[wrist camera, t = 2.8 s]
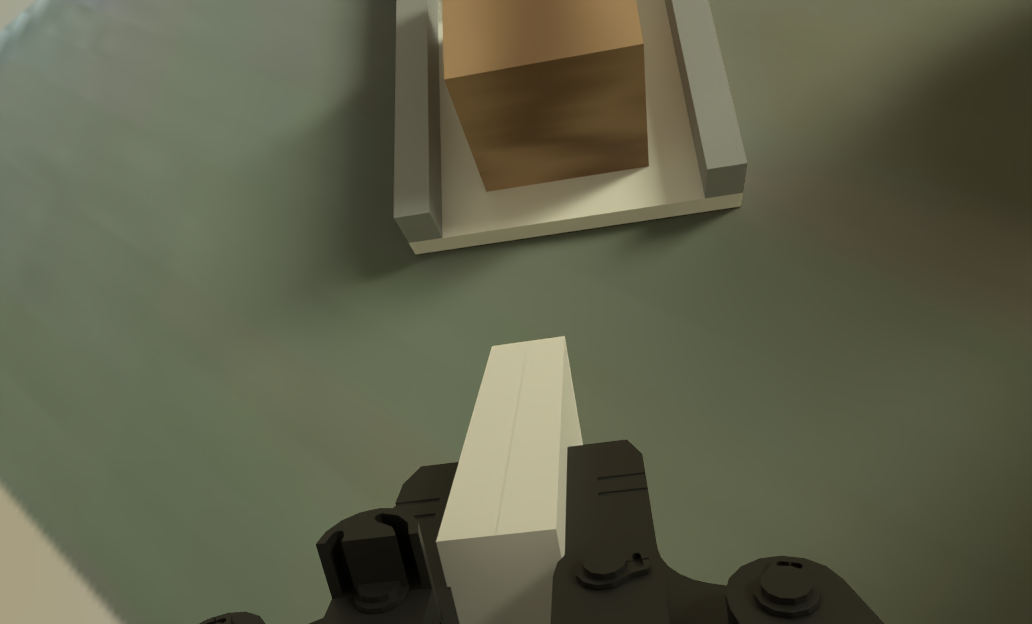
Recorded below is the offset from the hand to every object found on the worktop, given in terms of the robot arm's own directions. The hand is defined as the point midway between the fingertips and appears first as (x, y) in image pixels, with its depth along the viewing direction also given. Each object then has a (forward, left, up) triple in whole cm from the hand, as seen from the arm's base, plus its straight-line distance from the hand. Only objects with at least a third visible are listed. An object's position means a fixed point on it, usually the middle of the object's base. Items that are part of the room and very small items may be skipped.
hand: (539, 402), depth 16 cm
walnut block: (0, -19, -12) cm, 23 cm away
